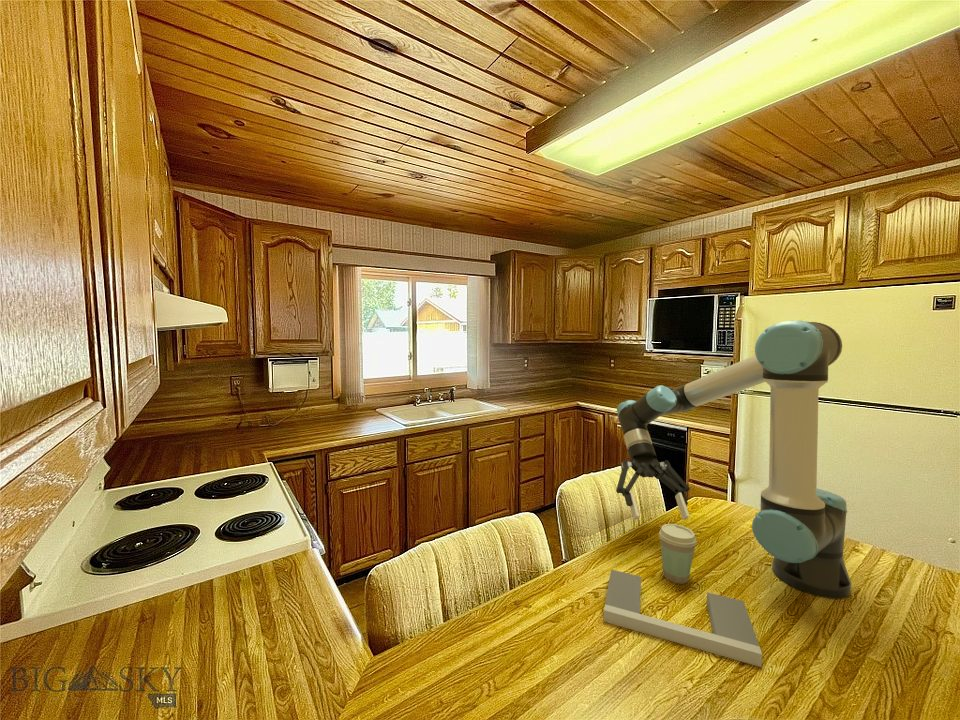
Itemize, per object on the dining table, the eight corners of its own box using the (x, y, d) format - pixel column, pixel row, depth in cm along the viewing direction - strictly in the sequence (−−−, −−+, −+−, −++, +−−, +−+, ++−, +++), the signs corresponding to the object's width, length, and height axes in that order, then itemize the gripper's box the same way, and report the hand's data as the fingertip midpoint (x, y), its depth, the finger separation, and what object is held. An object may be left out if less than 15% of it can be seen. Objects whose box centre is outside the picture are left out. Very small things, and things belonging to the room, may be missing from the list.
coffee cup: (699, 589, 94) (702, 541, 94) (661, 584, 96) (663, 537, 95) (688, 569, 103) (690, 524, 102) (653, 564, 104) (655, 521, 104)
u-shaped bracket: (743, 611, 87) (743, 600, 87) (761, 667, 72) (762, 654, 72) (610, 579, 98) (611, 569, 98) (603, 621, 83) (604, 610, 83)
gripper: (675, 453, 123) (700, 522, 109) (596, 452, 122) (611, 522, 108) (685, 441, 117) (713, 513, 103) (602, 440, 117) (619, 512, 103)
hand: (661, 518), depth 106 cm, fingers open, 13 cm apart
